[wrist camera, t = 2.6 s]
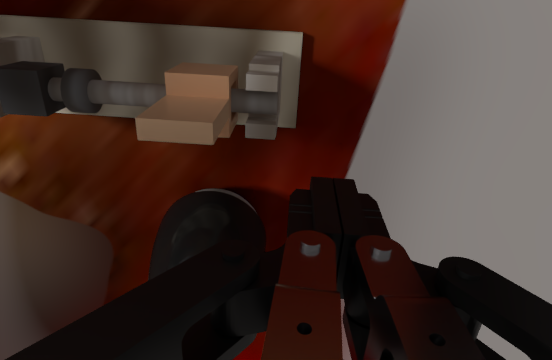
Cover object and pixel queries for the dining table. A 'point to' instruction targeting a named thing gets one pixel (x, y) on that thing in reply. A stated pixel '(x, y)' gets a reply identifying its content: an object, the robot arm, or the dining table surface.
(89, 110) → the grey rail mechanism
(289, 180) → the dining table surface
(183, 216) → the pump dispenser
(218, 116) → the tan stepped block
